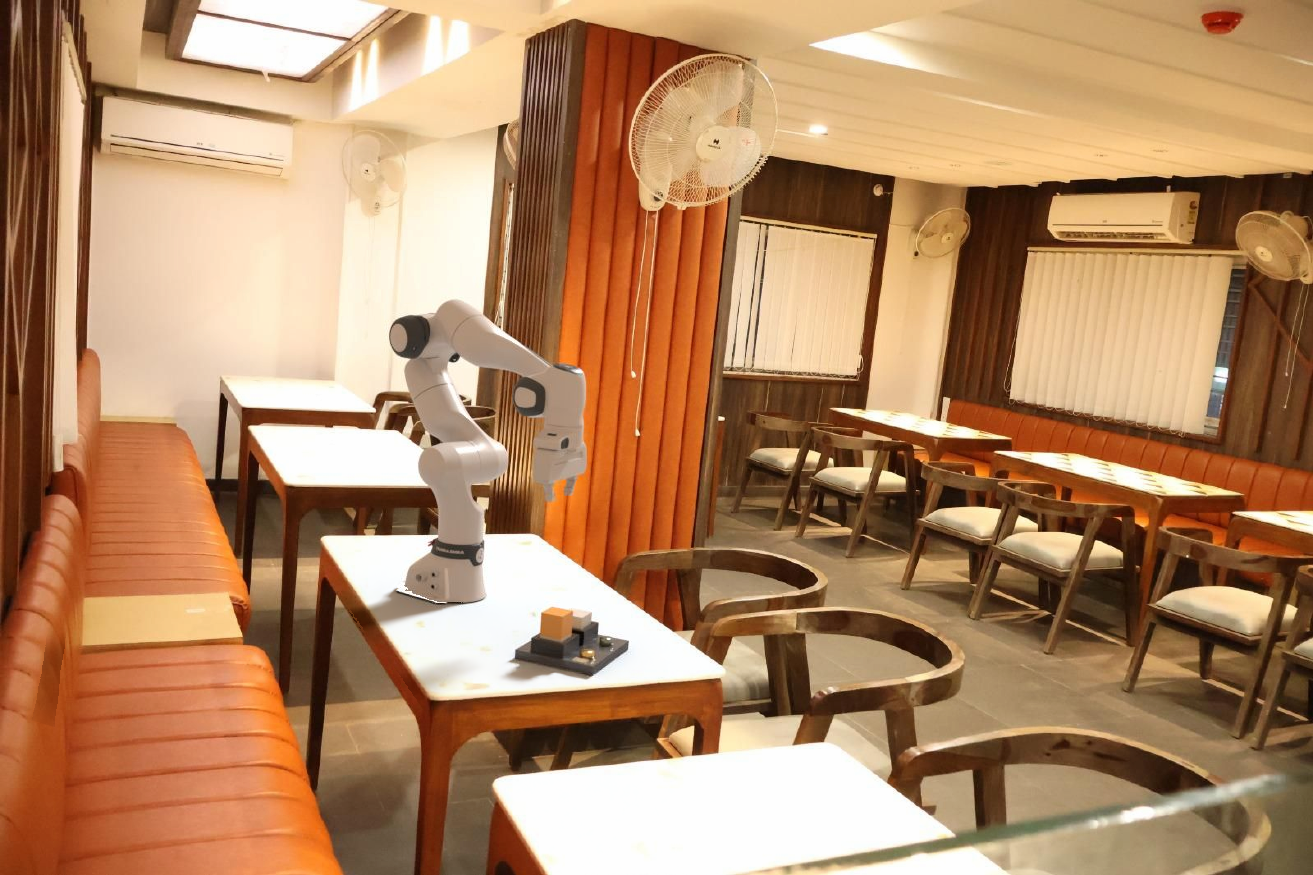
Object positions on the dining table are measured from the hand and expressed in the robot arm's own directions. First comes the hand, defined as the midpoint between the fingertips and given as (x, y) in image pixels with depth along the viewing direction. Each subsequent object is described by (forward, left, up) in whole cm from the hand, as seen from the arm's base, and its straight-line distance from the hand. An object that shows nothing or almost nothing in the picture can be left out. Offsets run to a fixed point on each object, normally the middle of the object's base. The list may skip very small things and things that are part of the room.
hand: (559, 497), depth 239 cm
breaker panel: (+11, -11, -31) cm, 35 cm away
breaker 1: (+9, -16, -29) cm, 34 cm away
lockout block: (+9, -16, -26) cm, 32 cm away
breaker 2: (+9, -6, -27) cm, 29 cm away
